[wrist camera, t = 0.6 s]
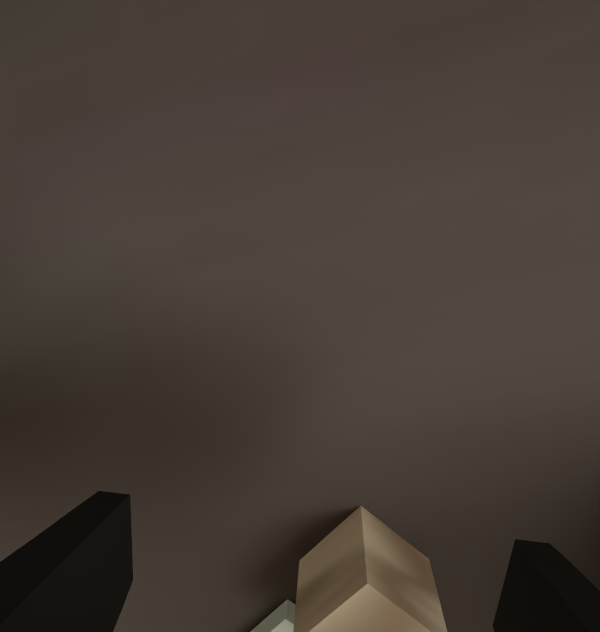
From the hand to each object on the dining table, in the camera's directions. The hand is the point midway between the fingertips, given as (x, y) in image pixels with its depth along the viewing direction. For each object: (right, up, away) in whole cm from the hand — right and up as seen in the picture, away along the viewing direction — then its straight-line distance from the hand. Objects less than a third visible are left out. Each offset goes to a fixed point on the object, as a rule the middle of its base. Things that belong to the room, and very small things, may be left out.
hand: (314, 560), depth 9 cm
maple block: (+2, -6, +12) cm, 14 cm away
